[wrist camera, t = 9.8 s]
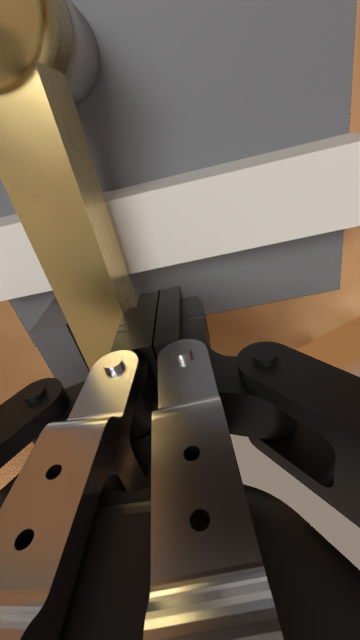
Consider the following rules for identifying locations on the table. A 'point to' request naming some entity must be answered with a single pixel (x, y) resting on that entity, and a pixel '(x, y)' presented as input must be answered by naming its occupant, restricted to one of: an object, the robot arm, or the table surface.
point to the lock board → (206, 154)
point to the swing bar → (57, 175)
